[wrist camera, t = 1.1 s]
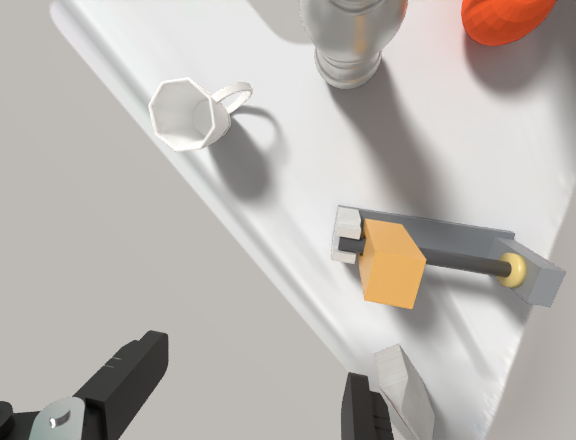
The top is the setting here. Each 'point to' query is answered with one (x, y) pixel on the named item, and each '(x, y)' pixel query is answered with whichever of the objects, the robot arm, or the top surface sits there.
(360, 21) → the plastic bottle
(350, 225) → the gray horizontal rod stand
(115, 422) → the robot arm
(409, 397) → the milk carton
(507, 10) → the clementine
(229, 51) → the top surface
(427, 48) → the top surface
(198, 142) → the cup
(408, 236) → the sleeve
